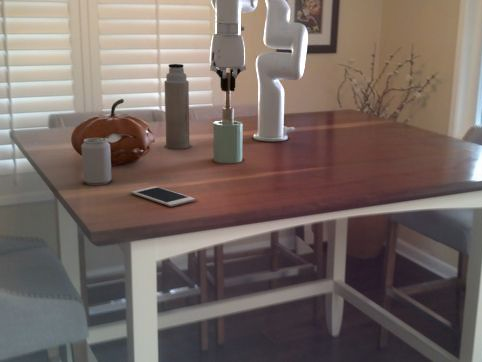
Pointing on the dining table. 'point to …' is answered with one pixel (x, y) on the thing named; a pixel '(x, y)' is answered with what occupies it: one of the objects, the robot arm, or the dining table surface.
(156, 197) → the cell phone
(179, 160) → the dining table surface
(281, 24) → the robot arm
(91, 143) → the can
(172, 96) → the thermos bottle
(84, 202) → the dining table surface
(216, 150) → the sage green cup
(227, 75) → the brush
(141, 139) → the pumpkin
